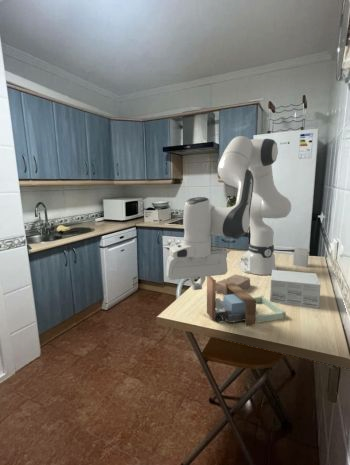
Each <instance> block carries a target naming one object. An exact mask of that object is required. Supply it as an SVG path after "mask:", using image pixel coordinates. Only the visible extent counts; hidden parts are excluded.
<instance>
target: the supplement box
mask: <svg viewBox="0 0 350 465" xmlns="http://www.w3.org/2000/svg"><path fill="white" fill-rule="evenodd" d="M321 286H322V285H321V282H320V280H319V278H318V275H317V273H311V272H303V271H302V272H301V271H293V270H292V271H291V270H290V271H289V270H272V274H270V291H269V294H270V295H269V301H270V302H272V303H277V304H278V303H279V304H285V305H291V306H292V305H293V306H300V307H308V308H314V309H315V308H317V309H319V308H320V299H321V298H320V296H321Z"/></svg>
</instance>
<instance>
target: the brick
mask: <svg viewBox="0 0 350 465" xmlns="http://www.w3.org/2000/svg"><path fill="white" fill-rule="evenodd" d="M230 282H233V283H235V284H236V285H237V286H239V287H240V288H241V289H242V290H244V291H245V290H246V289H248V288H249V287H251V278H250V277H248V276H246V275H241V274H236V273H235V274H234V275H233V274H232V275H230V276H229V277H227V278H224V279H223V280H219V281H216V293H217V294H220V295H225V292H226V283H230ZM234 294H235V293H234Z"/></svg>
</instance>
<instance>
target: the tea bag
mask: <svg viewBox="0 0 350 465" xmlns="http://www.w3.org/2000/svg"><path fill="white" fill-rule="evenodd" d="M292 260H293V261H292V262H293V263H292V266H294V267H301V268H308V266H309V248H304V247H298V246H297V247H296V246H295V247H294V252H293V259H292Z"/></svg>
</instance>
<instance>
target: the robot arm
mask: <svg viewBox="0 0 350 465" xmlns="http://www.w3.org/2000/svg"><path fill="white" fill-rule="evenodd" d="M278 153H279V148H278V143H277V142H276V141H275V140H274V139H272V138H265V139H264V138H263V139H261V138H259V139H258V138H256V139H255V138H254V139H253V138H252V139H250V138H249V137H247V136H242V135H240V136H235V137H234V138H233V139H231V140H230V142H228V144H227V145H226V146H225V148H224V151H223V153H222V155H221V157H220V160H219V162H218V165H217V174H218V176H219V178H220V179H221V181H222V182H224V184H226V185H228V186H229V187H234V188H236V189H237V194H236V199H235V200H236V201H235V204H234V205H232V206H228V207H225V206H214V205H212V204H211V203H210V202H211V201H210V199H209V198H208V197H205V196H204V197H203V196H197V197H192V198H189V199H187V200H186V201H185V203H184V206H183V217H182V218H183V219H182V227H183V229H184V230H183V232H184V235H183V238H182V239H183V240H182V242H180V243H177V244H176V245H172V246H170V247H169V250H168V252H169V254H170V255H169V256H168V257H167V259H166V267H165V268H166V269H165V275H166V277H167V278H168V279H169V280H170V281H173V280H181V279H184V280H185V279H188V281H189V282H190V283H191V289H192V291H197V290H202V289H203V285H204V282H205V281H206V277H207V276H211V277H214V276H223V275H227V273H228V261H227V257H228V251H227V249H226V248H225V247H223V246H215V247H213V246H212V237H211V236H217V237H218V236H219V237H225V238H230V239H233V240H239V239H240V238H242V237H244V236H245V235H246V234H247V233H248V232H249V230H250V243H249V244H248V245H247V246H248V249H247V251H245V252H244V253H243V254H242V255H241V256H240V260H241V261H238V262H237V263H236V265H237V267H238V268H239V269H241V271H243V272H244V273H247V274H253V275H261V276H267V275H272V270H277V268H278V267H276V256H275V253H274V252H275V245H274V236H275V235H274V229H273V228H272V227H271V226H269V225H268V224H266V223H265V222H264V221H263V219H283V218H287V217H288V216H289V214H290V213H291V211H292V204H291V201H290V200H289V198H288V197H286V196H285V195H283V194H282V193H280V192H279V190H278V189H277V187H276V186H275V181H274V178H273V177H274V176H273V164H274V163H275V162H276V161H277V159H278V158H277V157H278ZM253 194H255V195H253ZM196 278H199V281H198V282H194V281H196V280H195V279H196Z"/></svg>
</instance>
